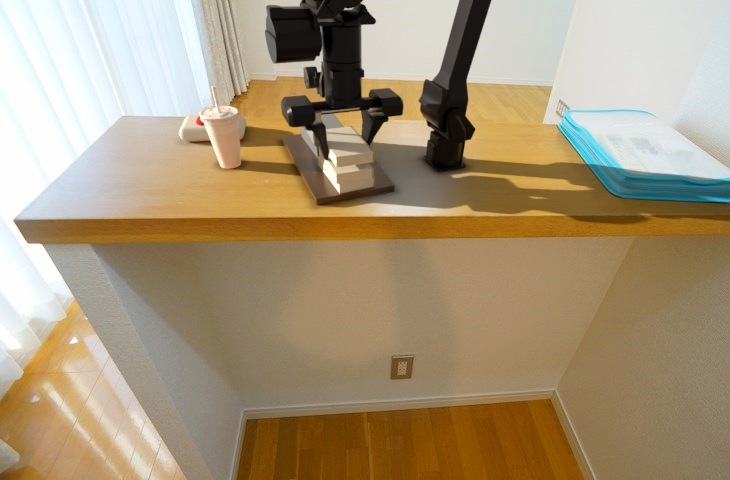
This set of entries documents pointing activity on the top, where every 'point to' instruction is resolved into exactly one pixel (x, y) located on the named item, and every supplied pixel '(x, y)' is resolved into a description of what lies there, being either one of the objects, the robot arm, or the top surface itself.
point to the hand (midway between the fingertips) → (345, 156)
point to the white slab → (202, 129)
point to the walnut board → (319, 181)
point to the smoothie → (223, 132)
